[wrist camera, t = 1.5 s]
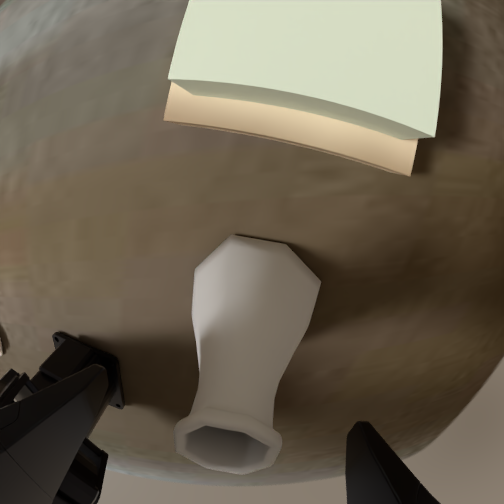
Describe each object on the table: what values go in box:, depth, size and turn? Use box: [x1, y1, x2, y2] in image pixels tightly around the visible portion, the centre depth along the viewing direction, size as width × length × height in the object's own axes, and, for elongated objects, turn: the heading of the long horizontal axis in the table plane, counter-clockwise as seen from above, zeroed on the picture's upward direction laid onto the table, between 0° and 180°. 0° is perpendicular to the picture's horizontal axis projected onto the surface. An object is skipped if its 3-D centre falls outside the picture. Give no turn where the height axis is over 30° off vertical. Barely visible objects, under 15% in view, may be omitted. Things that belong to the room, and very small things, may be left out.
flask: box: [174, 235, 321, 475], centre depth 11 cm, size 7×7×10 cm
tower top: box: [168, 0, 442, 140], centre depth 8 cm, size 9×9×3 cm
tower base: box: [164, 82, 418, 176], centre depth 11 cm, size 11×11×3 cm
